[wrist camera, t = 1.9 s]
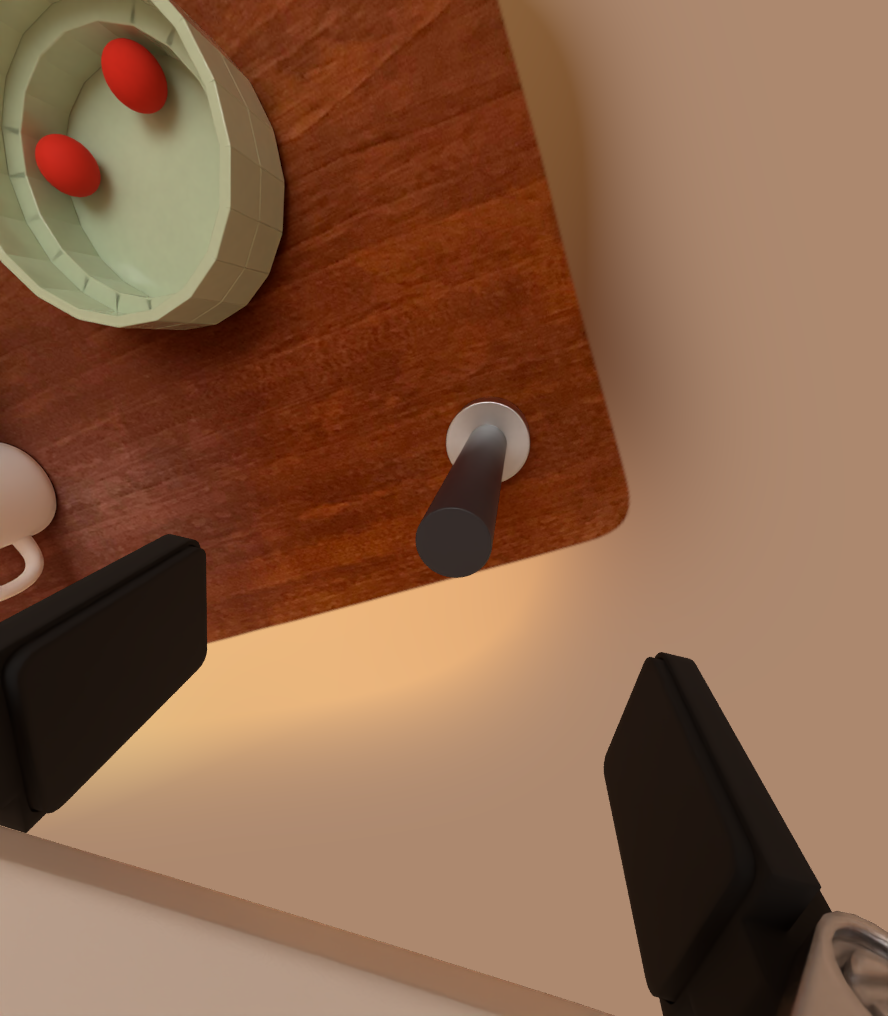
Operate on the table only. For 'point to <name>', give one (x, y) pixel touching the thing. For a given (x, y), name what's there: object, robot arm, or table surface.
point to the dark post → (473, 486)
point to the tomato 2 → (134, 75)
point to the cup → (23, 512)
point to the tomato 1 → (67, 165)
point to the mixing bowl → (135, 169)
